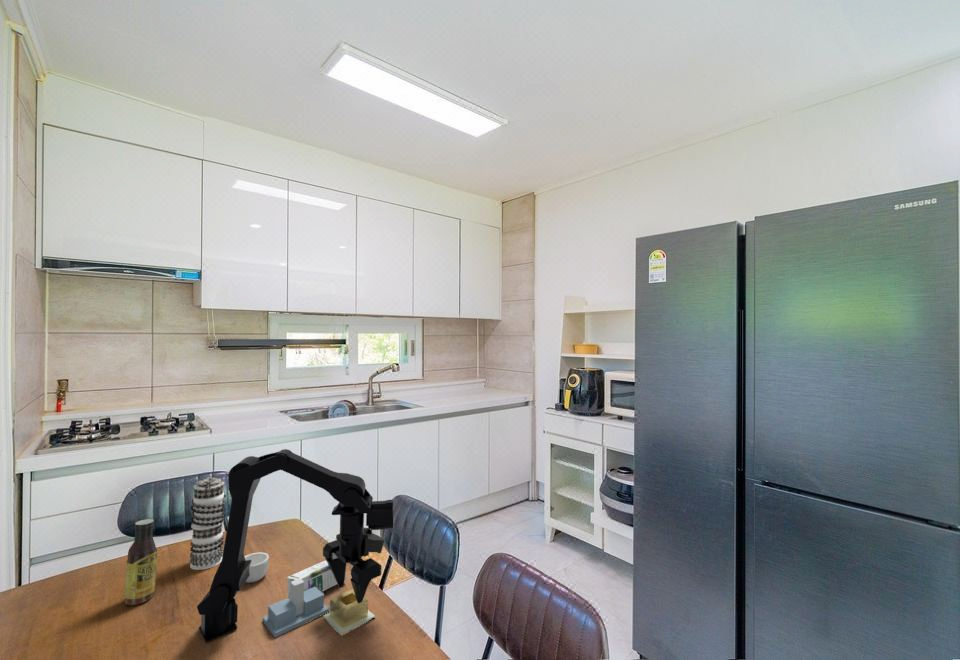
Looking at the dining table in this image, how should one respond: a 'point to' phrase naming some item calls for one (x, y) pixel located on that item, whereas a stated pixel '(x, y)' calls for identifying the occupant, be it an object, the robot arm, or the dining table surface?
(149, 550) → the sauce bottle
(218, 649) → the dining table surface
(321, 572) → the syrup box
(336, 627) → the off-white board
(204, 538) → the white patterned cylinder
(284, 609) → the blue stepped base
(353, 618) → the brass collar
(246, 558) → the teacup
